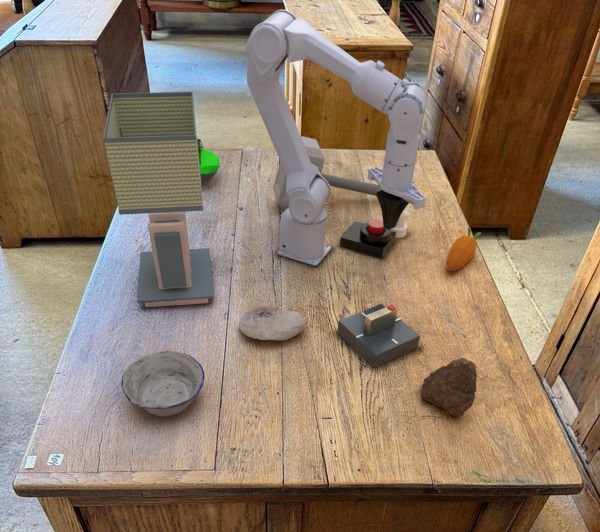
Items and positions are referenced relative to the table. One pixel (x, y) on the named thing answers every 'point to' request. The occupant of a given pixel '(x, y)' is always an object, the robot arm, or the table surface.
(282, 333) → the fossil
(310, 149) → the hammer
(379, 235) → the button box
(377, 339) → the panel
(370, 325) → the silver block
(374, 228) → the red button
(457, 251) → the carrot
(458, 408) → the rock
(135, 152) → the desk lamp
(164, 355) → the bowl
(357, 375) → the table surface
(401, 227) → the decorative finial
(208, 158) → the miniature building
